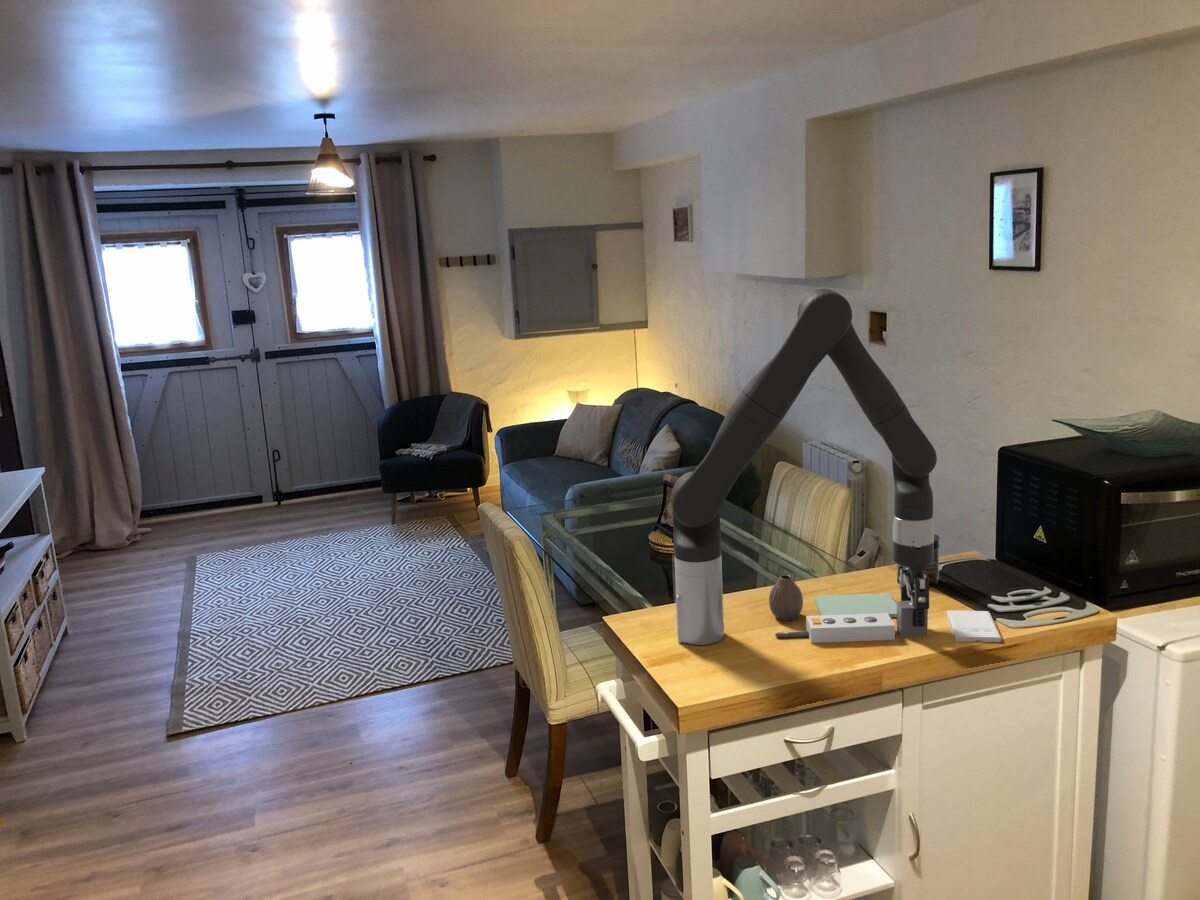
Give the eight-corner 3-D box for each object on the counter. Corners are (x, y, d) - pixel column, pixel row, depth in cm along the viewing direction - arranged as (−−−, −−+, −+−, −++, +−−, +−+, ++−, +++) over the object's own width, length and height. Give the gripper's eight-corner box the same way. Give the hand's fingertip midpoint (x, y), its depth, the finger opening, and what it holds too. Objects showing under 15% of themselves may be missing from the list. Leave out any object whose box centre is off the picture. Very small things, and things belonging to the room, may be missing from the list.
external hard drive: (989, 618, 199) (1001, 644, 187) (946, 617, 200) (955, 643, 188) (989, 611, 198) (1001, 636, 186) (946, 610, 200) (955, 635, 188)
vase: (800, 624, 200) (800, 584, 198) (766, 622, 202) (765, 581, 200) (805, 611, 206) (804, 571, 204) (772, 609, 208) (771, 570, 206)
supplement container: (945, 584, 216) (946, 538, 213) (920, 590, 214) (920, 544, 211) (925, 574, 222) (925, 530, 220) (900, 580, 220) (900, 535, 217)
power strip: (777, 644, 192) (776, 628, 191) (773, 631, 198) (773, 615, 197) (894, 639, 190) (895, 623, 190) (887, 627, 196) (887, 611, 195)
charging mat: (822, 620, 201) (822, 616, 201) (813, 599, 212) (813, 596, 212) (902, 617, 200) (902, 613, 200) (889, 596, 211) (889, 593, 211)
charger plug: (901, 637, 192) (901, 607, 190) (896, 629, 195) (896, 600, 194) (927, 636, 191) (927, 606, 190) (922, 628, 195) (922, 599, 193)
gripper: (884, 527, 196) (884, 603, 199) (902, 551, 182) (902, 633, 186) (923, 525, 195) (922, 602, 199) (944, 549, 181) (942, 631, 185)
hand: (912, 617), depth 192 cm, fingers open, 8 cm apart
